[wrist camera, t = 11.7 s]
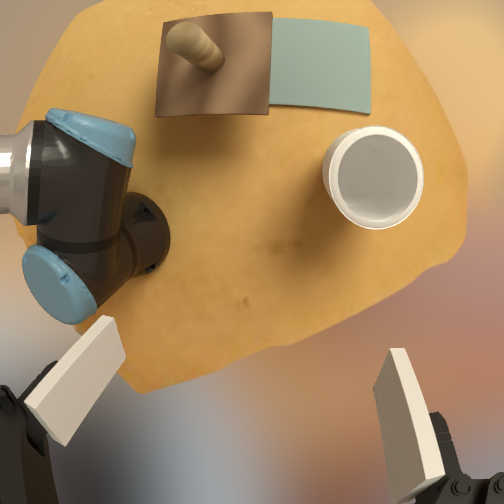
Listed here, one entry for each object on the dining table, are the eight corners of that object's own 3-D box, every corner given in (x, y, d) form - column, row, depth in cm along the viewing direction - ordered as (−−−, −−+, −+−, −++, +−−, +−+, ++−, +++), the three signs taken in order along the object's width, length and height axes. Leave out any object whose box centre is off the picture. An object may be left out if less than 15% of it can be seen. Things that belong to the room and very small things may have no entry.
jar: (326, 122, 36) (344, 110, 23) (390, 145, 36) (435, 148, 22) (308, 189, 40) (315, 213, 27) (371, 209, 40) (405, 242, 26)
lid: (159, 117, 31) (113, 112, 22) (167, 25, 26) (128, -3, 17) (268, 115, 30) (257, 102, 20) (272, 15, 25) (263, -25, 15)
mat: (268, 104, 37) (268, 103, 36) (270, 19, 31) (270, 17, 30) (369, 114, 35) (370, 113, 34) (367, 28, 29) (368, 27, 28)
